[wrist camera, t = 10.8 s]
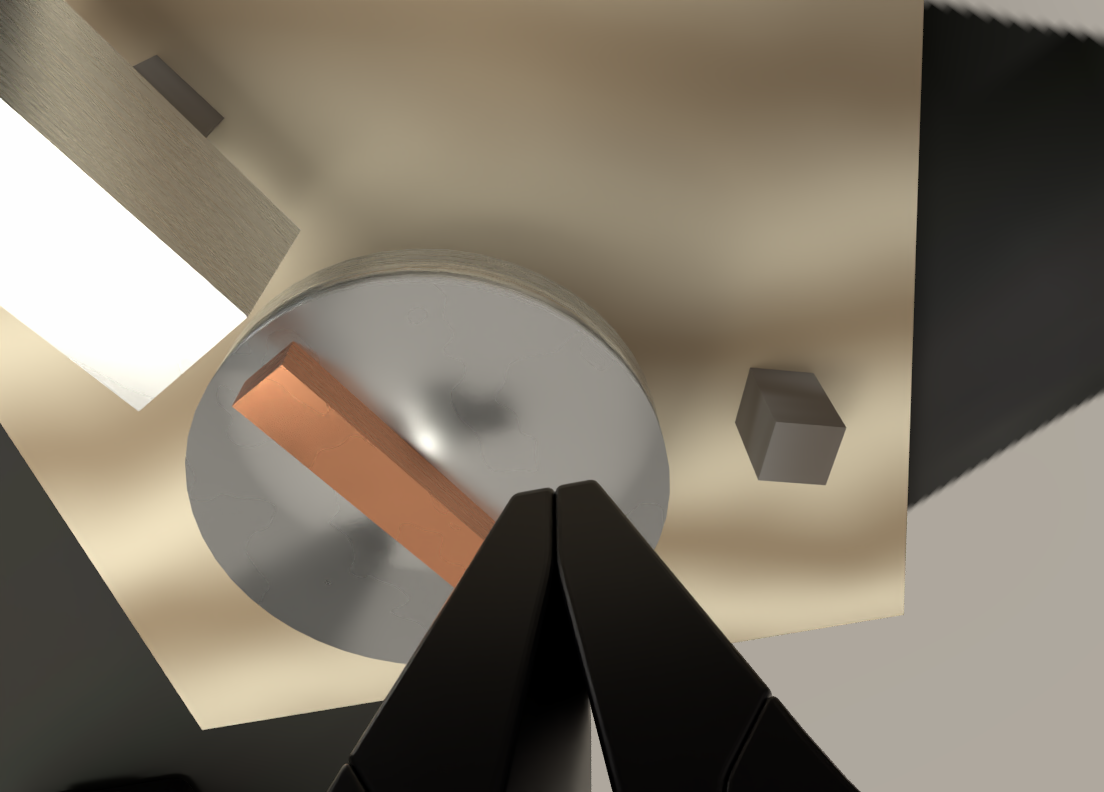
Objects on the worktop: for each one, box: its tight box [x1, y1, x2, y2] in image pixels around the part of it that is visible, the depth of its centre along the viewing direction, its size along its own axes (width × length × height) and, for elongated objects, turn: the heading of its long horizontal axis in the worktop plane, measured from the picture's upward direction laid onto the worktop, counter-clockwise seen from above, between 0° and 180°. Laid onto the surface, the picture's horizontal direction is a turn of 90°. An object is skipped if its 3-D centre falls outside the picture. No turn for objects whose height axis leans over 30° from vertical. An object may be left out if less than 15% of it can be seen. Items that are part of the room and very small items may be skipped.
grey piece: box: [0, 0, 670, 664], centre depth 15 cm, size 16×9×4 cm, turn 39°
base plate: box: [0, 0, 924, 730], centre depth 19 cm, size 22×22×5 cm
